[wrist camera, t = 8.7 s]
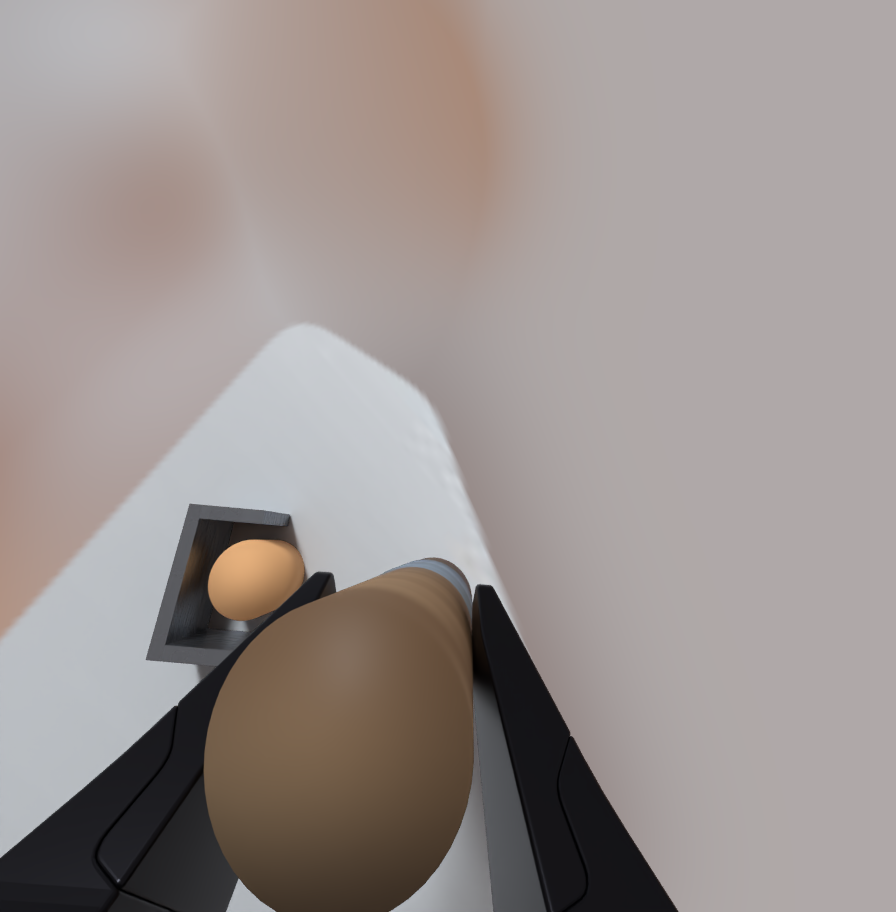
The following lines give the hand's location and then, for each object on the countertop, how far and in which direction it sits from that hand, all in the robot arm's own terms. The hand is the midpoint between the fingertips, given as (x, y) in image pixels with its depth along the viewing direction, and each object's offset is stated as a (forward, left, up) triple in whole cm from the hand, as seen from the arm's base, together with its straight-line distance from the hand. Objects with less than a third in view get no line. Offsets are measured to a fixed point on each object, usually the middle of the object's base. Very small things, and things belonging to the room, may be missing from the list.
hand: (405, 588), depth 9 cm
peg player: (-1, -1, -7) cm, 7 cm away
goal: (-2, +11, -12) cm, 16 cm away
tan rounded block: (-2, +9, -12) cm, 15 cm away
